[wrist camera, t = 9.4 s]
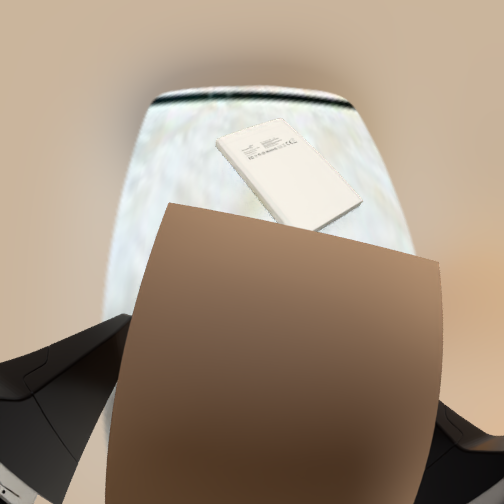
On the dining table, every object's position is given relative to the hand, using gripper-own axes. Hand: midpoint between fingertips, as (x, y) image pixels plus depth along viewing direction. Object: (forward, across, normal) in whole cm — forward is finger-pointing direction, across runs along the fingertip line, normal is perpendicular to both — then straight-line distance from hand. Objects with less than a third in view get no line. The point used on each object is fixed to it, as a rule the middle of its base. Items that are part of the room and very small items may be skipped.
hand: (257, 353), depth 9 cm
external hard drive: (+19, -2, -5) cm, 19 cm away
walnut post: (+5, 0, +6) cm, 8 cm away
